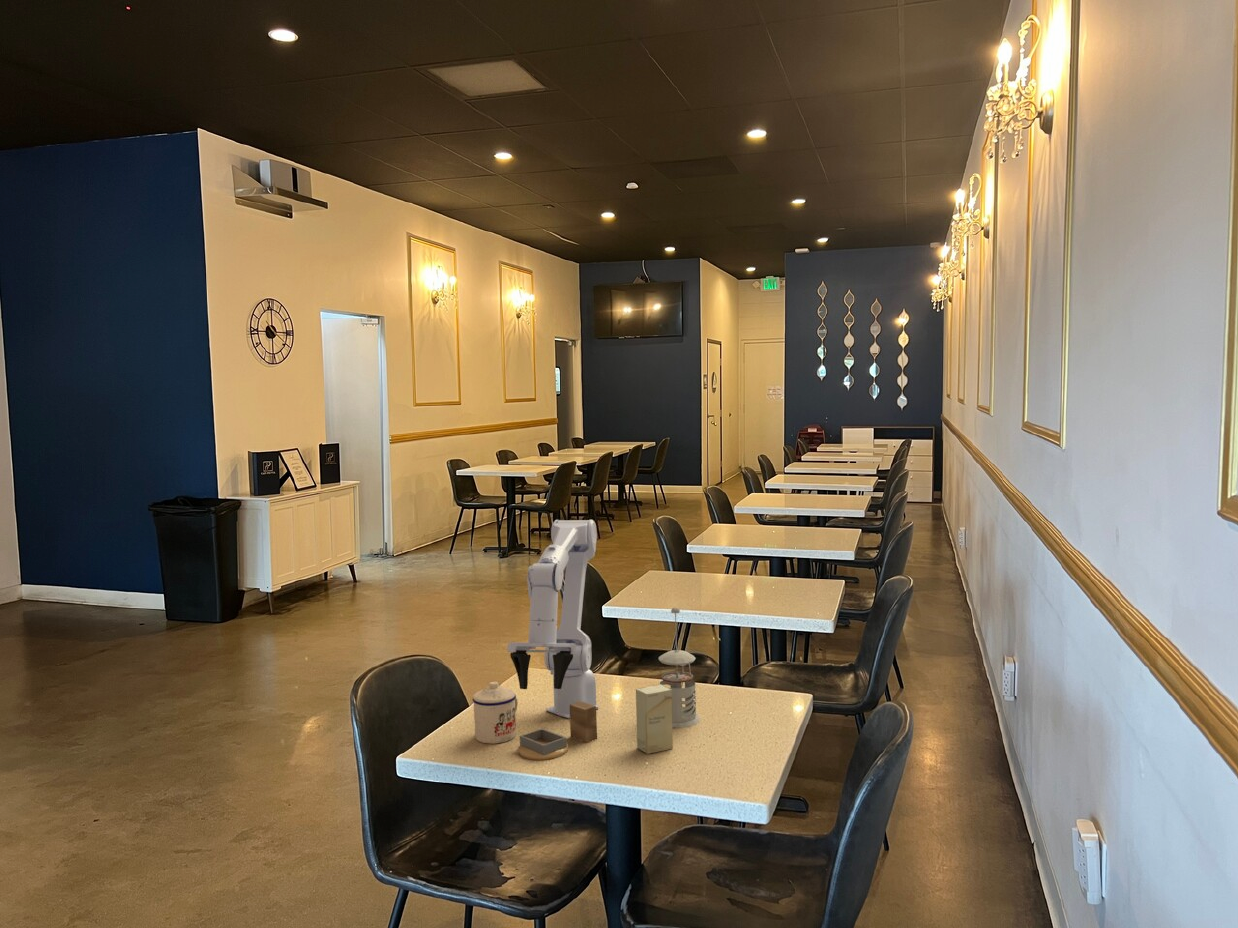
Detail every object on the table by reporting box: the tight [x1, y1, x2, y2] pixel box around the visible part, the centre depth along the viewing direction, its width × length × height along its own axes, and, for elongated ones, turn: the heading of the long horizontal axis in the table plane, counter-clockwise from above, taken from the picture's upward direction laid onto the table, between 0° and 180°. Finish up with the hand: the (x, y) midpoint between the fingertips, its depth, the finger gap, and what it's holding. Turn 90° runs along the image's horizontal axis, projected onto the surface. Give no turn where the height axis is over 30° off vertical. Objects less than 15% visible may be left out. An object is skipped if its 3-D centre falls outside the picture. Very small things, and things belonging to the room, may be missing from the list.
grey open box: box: [518, 728, 569, 761], centre depth 182 cm, size 10×10×3 cm
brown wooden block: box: [569, 701, 598, 744], centre depth 188 cm, size 3×5×7 cm, turn 44°
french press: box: [657, 606, 702, 728], centre depth 197 cm, size 10×12×25 cm
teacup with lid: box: [471, 681, 518, 744], centre depth 191 cm, size 12×9×12 cm
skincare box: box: [635, 684, 674, 754], centre depth 181 cm, size 6×4×12 cm
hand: (540, 688), depth 183 cm, fingers open, 7 cm apart
